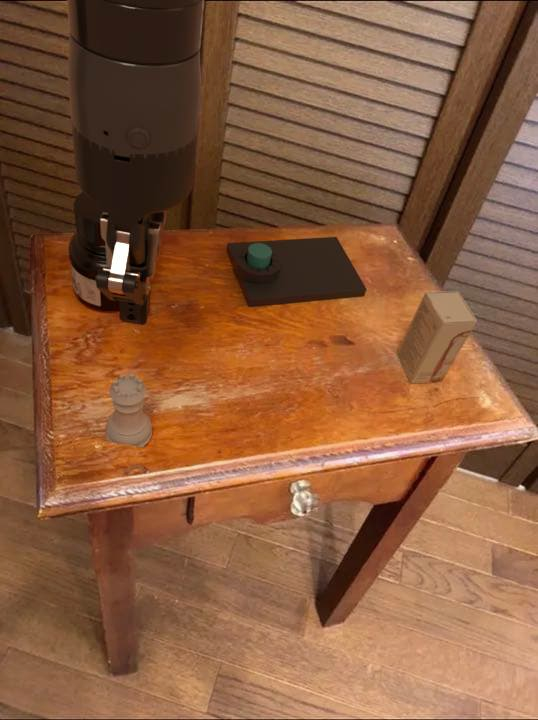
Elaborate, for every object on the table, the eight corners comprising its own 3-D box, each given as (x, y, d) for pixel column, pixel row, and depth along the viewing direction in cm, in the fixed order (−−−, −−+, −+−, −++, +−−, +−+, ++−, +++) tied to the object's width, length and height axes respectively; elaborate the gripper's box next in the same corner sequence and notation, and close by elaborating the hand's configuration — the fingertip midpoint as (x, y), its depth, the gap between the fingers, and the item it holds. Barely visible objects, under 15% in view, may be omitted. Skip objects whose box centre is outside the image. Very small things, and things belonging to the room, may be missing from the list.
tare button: (250, 269, 73) (252, 258, 72) (243, 254, 75) (245, 243, 74) (272, 268, 74) (275, 257, 73) (265, 253, 76) (268, 242, 75)
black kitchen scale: (244, 308, 72) (248, 290, 70) (223, 251, 79) (225, 233, 77) (363, 297, 78) (370, 279, 75) (334, 244, 84) (339, 227, 82)
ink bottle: (70, 264, 72) (60, 178, 64) (142, 260, 75) (142, 177, 66) (76, 320, 67) (66, 234, 58) (154, 313, 69) (156, 230, 60)
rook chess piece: (100, 422, 58) (96, 370, 52) (145, 411, 60) (145, 360, 54) (111, 459, 56) (108, 409, 50) (157, 447, 57) (159, 397, 52)
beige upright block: (443, 382, 70) (479, 323, 62) (409, 384, 68) (442, 324, 61) (427, 350, 73) (459, 289, 65) (394, 351, 72) (424, 290, 64)
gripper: (100, 59, 40) (108, 259, 52) (37, 160, 31) (65, 371, 44) (211, 81, 40) (192, 273, 53) (180, 187, 31) (166, 386, 44)
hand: (134, 317), depth 48 cm, fingers closed
